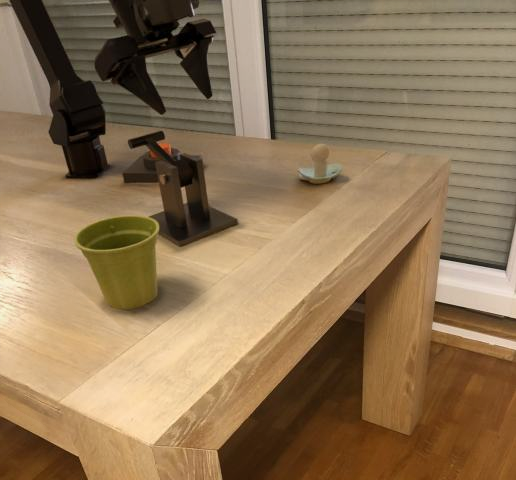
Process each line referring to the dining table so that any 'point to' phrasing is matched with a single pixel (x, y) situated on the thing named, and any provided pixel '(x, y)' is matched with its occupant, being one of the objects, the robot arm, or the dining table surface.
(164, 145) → the button
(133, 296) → the plant pot
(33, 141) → the dining table surface
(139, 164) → the block
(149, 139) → the dark t-shaped lever
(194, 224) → the dark brown stand
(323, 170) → the pacifier
